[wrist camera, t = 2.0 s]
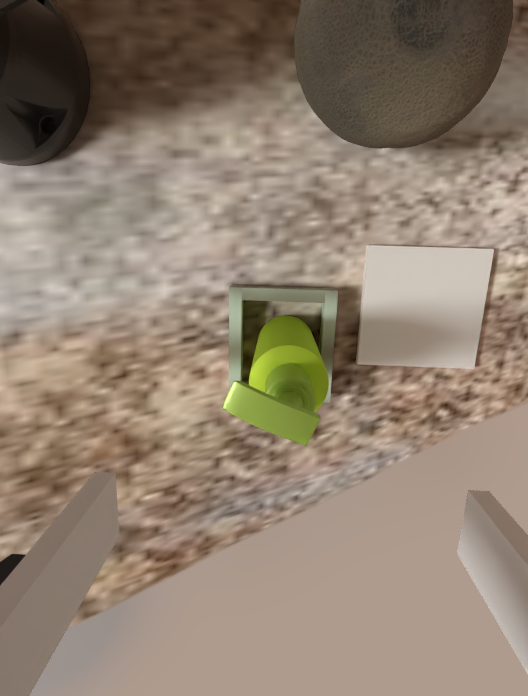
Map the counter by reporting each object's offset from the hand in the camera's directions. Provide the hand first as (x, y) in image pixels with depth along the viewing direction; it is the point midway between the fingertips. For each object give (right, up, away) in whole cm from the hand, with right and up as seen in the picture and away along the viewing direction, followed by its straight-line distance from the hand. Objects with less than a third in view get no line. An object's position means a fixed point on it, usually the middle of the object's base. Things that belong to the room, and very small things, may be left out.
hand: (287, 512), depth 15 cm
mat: (+15, +10, +25) cm, 31 cm away
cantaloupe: (+9, +30, +21) cm, 38 cm away
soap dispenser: (+1, +7, +27) cm, 28 cm away
